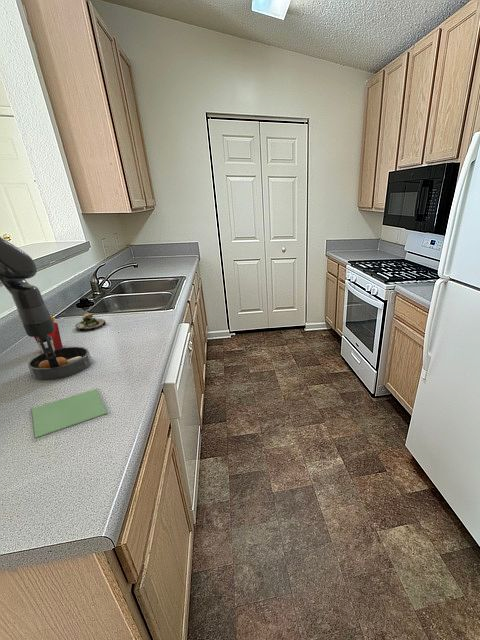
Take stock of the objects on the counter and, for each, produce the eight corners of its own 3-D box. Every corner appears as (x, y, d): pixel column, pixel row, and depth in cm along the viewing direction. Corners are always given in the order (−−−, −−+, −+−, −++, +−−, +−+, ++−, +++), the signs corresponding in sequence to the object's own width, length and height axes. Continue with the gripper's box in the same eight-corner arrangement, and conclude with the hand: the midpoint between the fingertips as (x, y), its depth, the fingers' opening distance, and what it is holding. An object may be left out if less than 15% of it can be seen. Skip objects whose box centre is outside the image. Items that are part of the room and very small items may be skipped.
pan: (31, 366, 116) (26, 356, 114) (87, 352, 125) (83, 342, 123) (34, 385, 104) (29, 374, 102) (95, 369, 113) (92, 358, 111)
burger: (76, 333, 143) (70, 317, 139) (75, 325, 152) (70, 310, 148) (107, 327, 148) (103, 311, 145) (104, 320, 157) (100, 305, 154)
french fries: (53, 344, 133) (39, 308, 126) (69, 346, 130) (56, 310, 124) (32, 353, 125) (16, 315, 118) (49, 356, 123) (33, 317, 116)
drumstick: (42, 376, 110) (39, 370, 107) (38, 366, 111) (35, 360, 108) (84, 365, 117) (83, 359, 113) (81, 355, 118) (79, 349, 115)
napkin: (32, 409, 92) (31, 408, 92) (96, 389, 101) (96, 388, 101) (35, 438, 81) (35, 437, 81) (107, 413, 90) (107, 412, 90)
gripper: (21, 316, 108) (39, 360, 115) (22, 328, 98) (42, 375, 105) (48, 311, 112) (64, 354, 119) (52, 322, 102) (70, 368, 109)
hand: (54, 364), depth 112 cm, fingers open, 8 cm apart
